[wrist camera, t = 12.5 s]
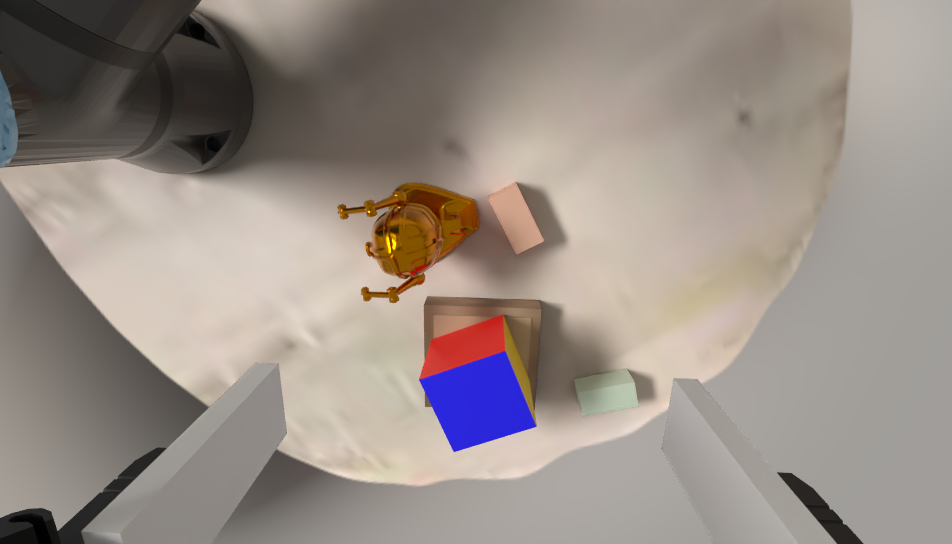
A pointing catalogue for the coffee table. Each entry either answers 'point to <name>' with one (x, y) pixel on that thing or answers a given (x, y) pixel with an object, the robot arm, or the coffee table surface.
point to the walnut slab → (465, 312)
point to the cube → (478, 384)
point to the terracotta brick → (515, 218)
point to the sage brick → (606, 392)
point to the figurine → (415, 232)
